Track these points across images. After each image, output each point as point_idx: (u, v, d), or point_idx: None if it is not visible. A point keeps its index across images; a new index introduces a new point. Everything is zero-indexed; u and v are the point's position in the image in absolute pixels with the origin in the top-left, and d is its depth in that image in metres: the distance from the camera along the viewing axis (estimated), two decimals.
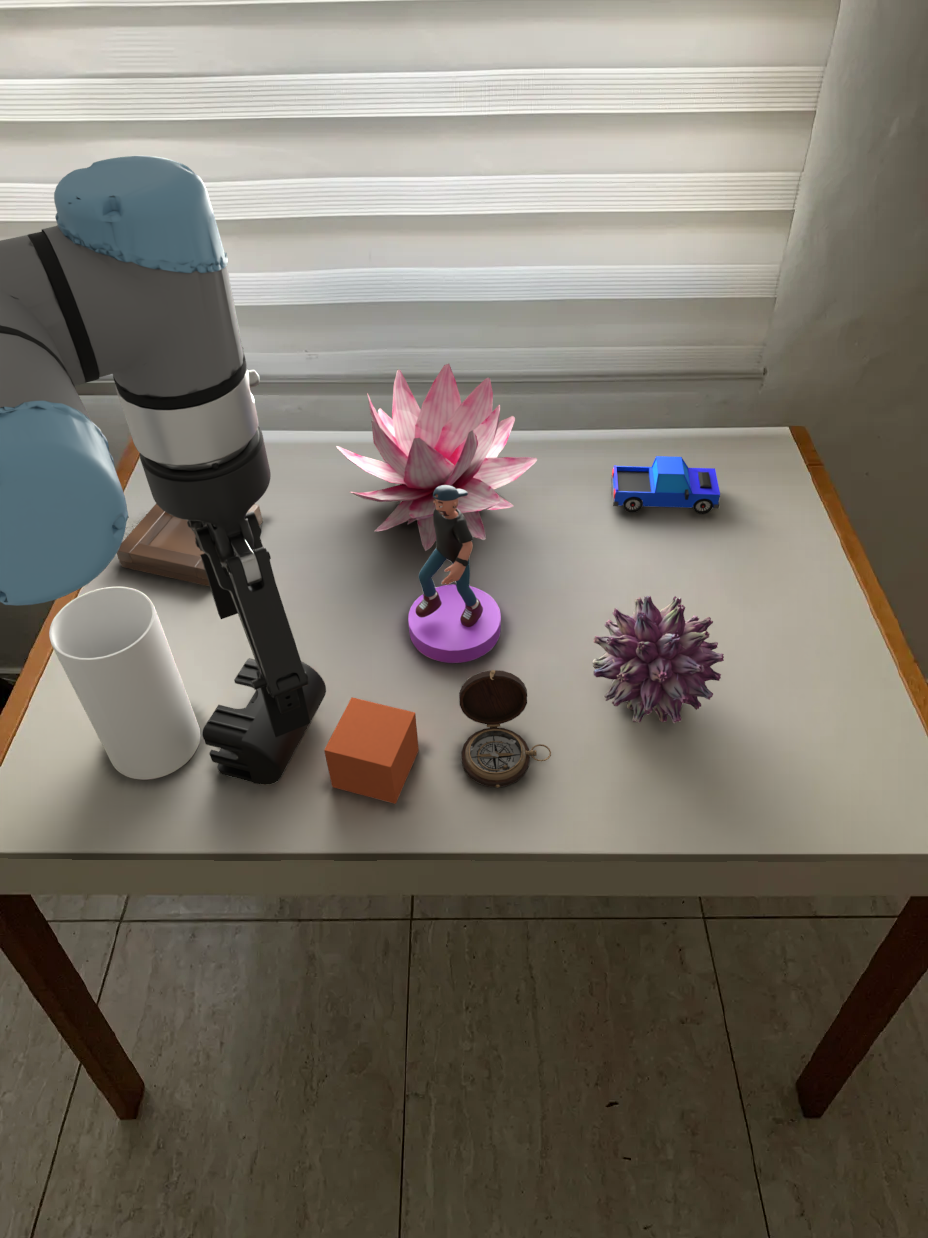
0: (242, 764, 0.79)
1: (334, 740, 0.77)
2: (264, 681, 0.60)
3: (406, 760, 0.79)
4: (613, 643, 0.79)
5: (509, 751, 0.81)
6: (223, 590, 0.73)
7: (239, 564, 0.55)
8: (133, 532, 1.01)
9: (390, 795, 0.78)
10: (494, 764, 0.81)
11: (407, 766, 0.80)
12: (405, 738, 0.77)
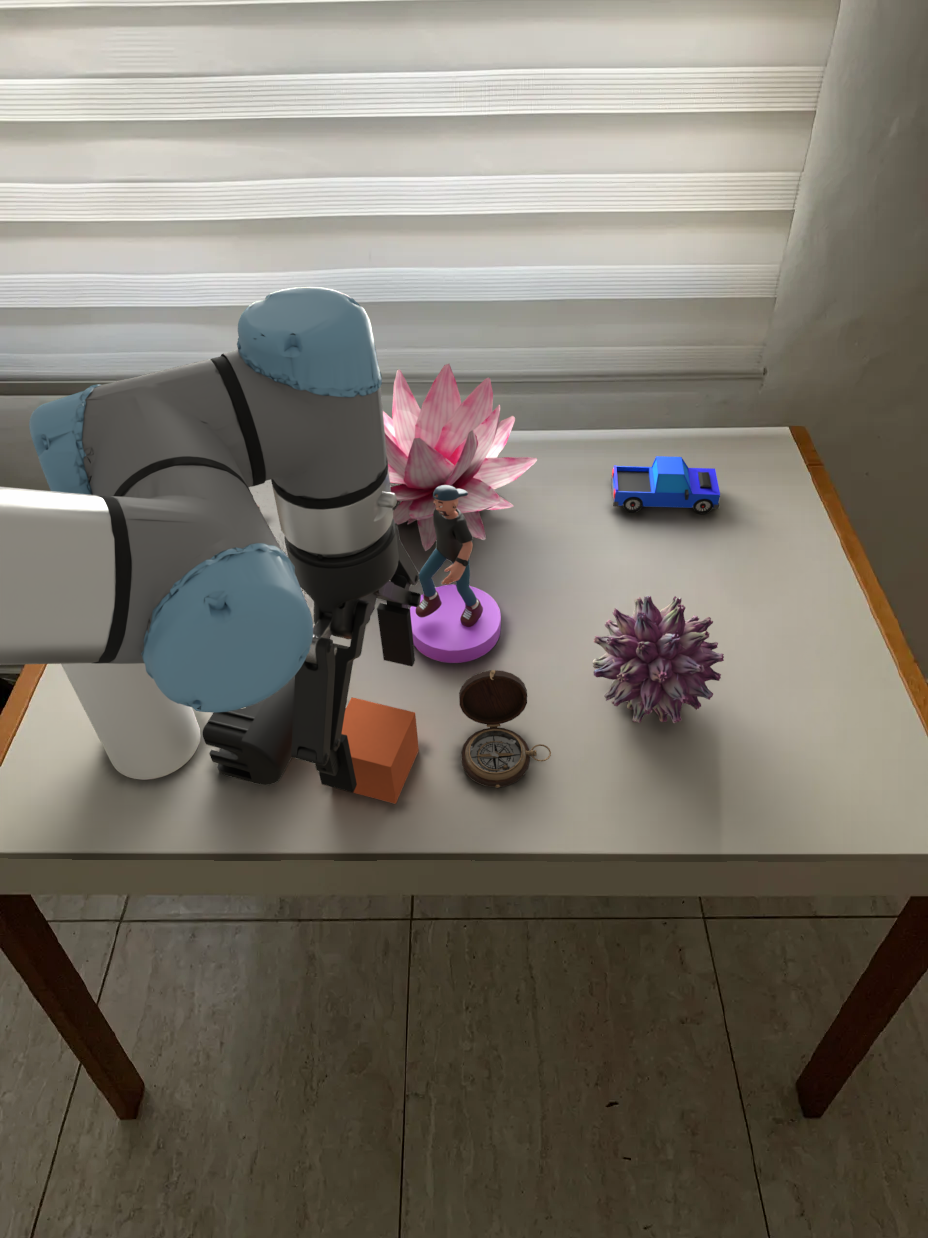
0: (242, 764, 0.79)
1: None
2: None
3: (406, 760, 0.79)
4: (613, 643, 0.79)
5: (509, 751, 0.81)
6: (389, 639, 0.79)
7: None
8: None
9: (390, 795, 0.78)
10: (494, 764, 0.81)
11: (407, 766, 0.80)
12: (405, 738, 0.77)
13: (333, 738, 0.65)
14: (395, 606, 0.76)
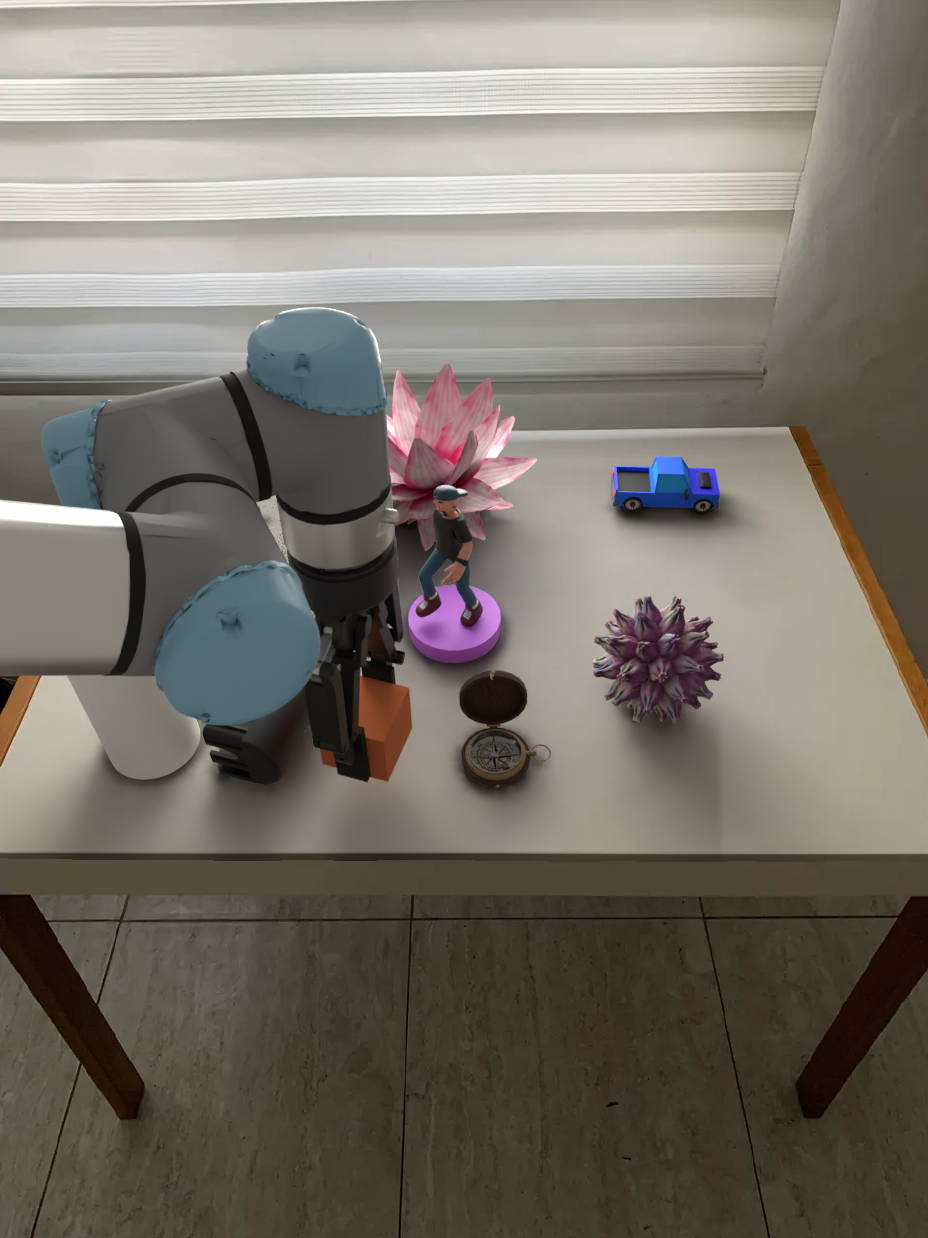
0: (242, 764, 0.79)
1: None
2: None
3: (399, 737, 0.77)
4: (613, 643, 0.79)
5: (509, 751, 0.81)
6: None
7: None
8: None
9: (382, 772, 0.75)
10: (494, 764, 0.81)
11: (400, 743, 0.77)
12: (398, 713, 0.75)
13: (351, 733, 0.70)
14: (379, 663, 0.76)
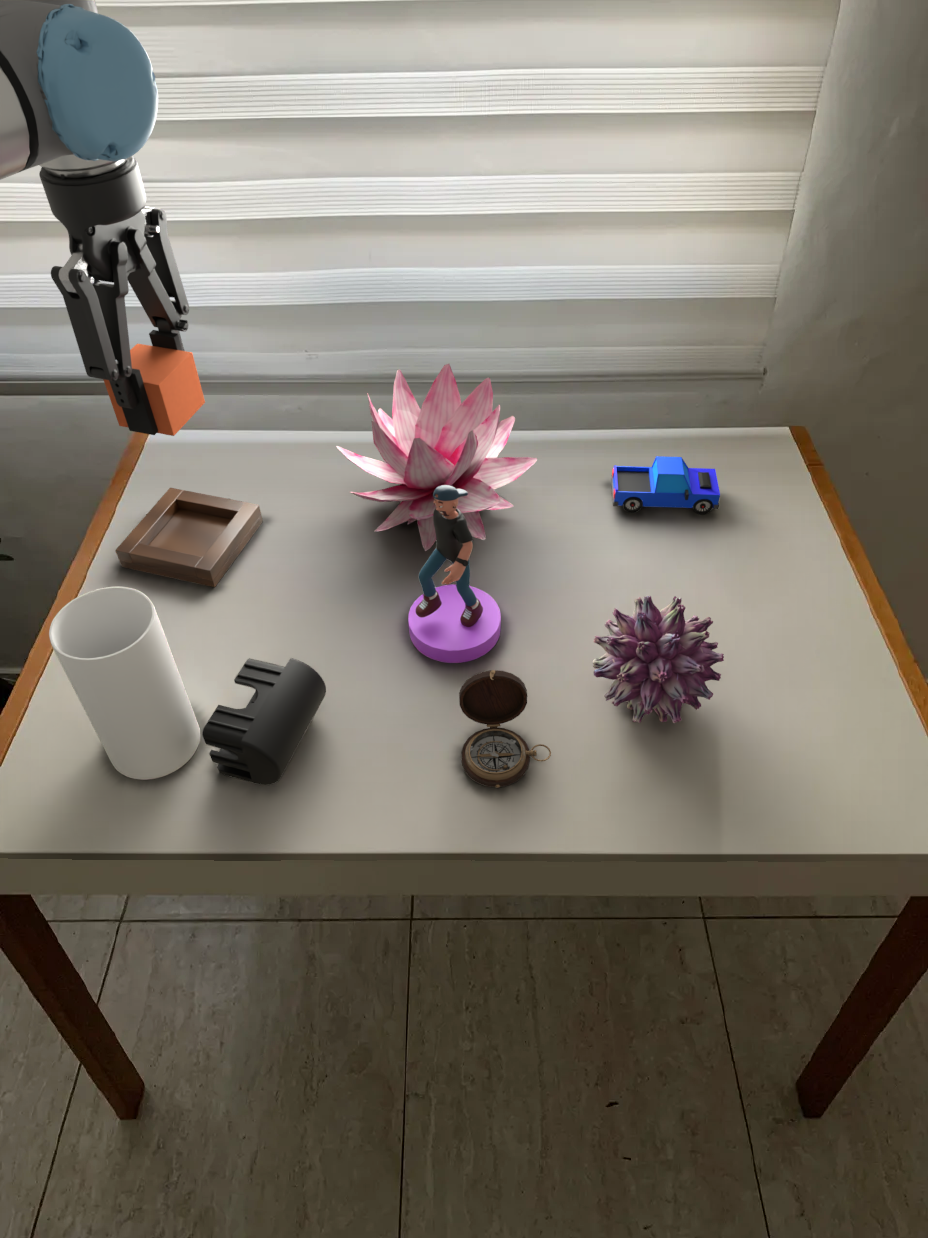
0: (242, 764, 0.79)
1: None
2: None
3: (185, 397, 0.86)
4: (613, 643, 0.79)
5: (509, 751, 0.81)
6: None
7: (57, 275, 0.72)
8: (133, 532, 1.01)
9: (166, 424, 0.85)
10: (494, 764, 0.81)
11: (187, 406, 0.87)
12: (178, 368, 0.84)
13: (122, 366, 0.79)
14: (165, 331, 0.86)
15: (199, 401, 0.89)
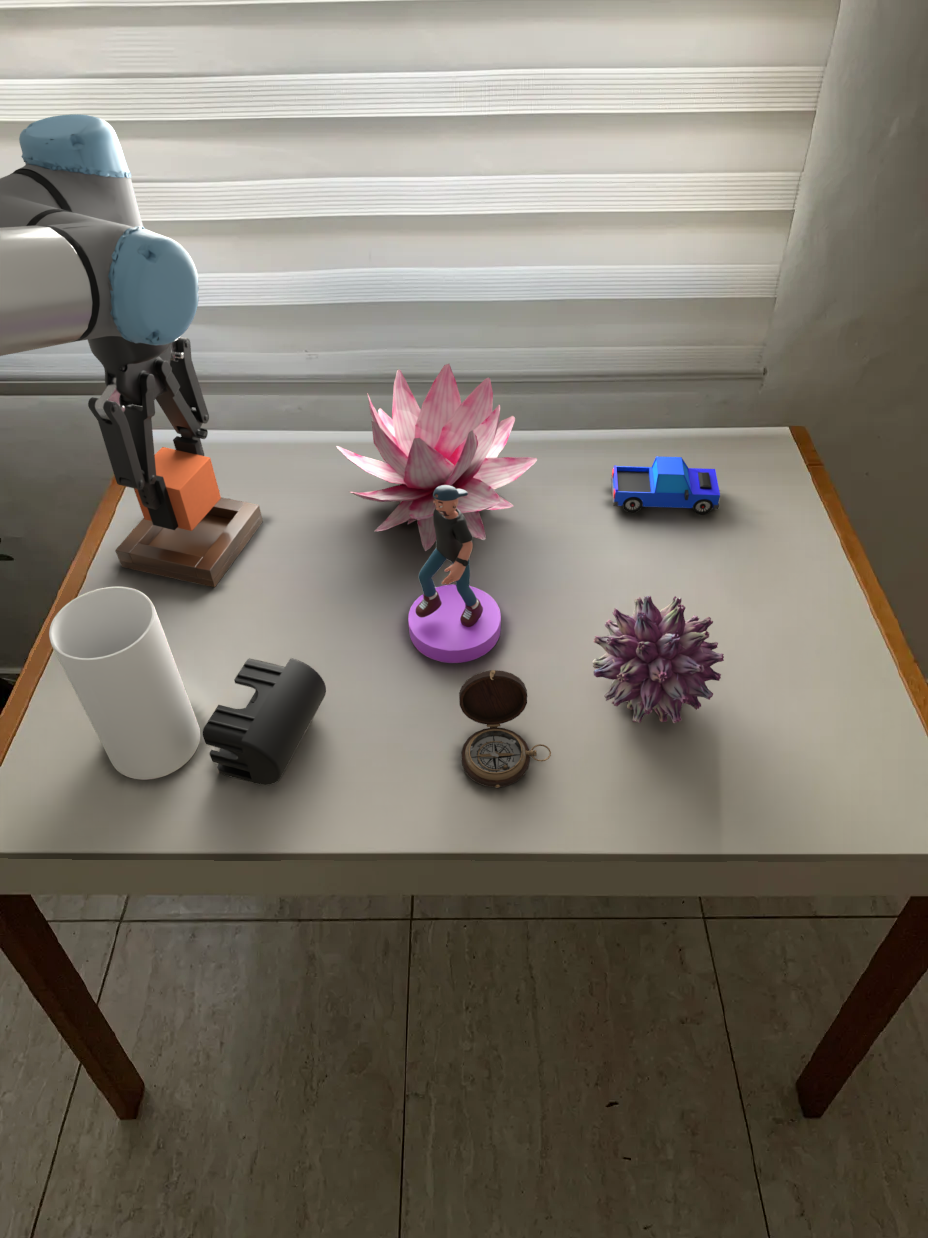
0: (242, 764, 0.79)
1: None
2: None
3: (202, 497, 0.97)
4: (613, 643, 0.79)
5: (509, 751, 0.81)
6: None
7: (93, 405, 0.83)
8: (133, 532, 1.01)
9: (185, 521, 0.96)
10: (494, 764, 0.81)
11: (205, 504, 0.98)
12: (197, 473, 0.95)
13: (147, 475, 0.91)
14: (187, 438, 0.97)
15: (215, 498, 1.00)
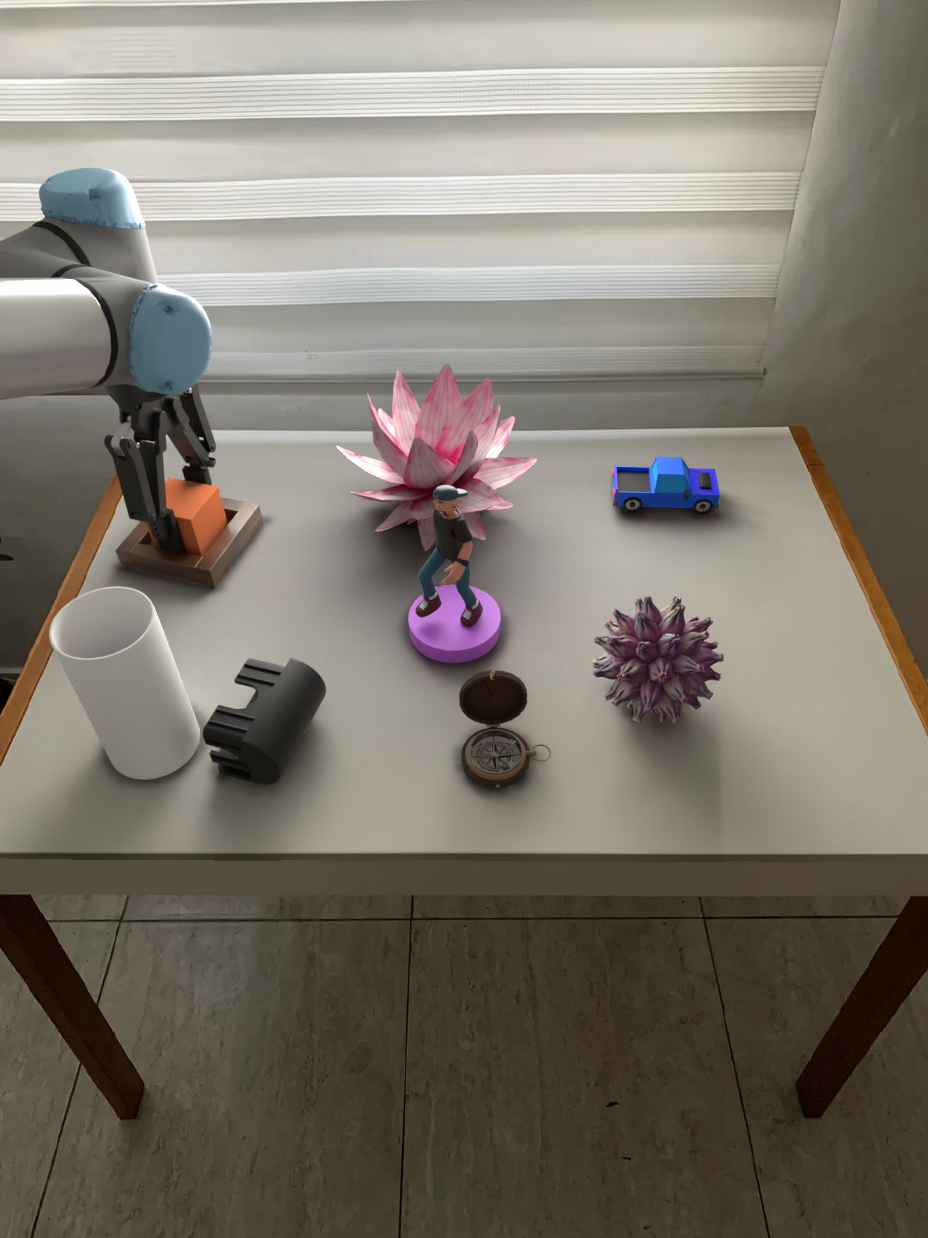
0: (242, 764, 0.79)
1: None
2: None
3: (211, 525, 1.00)
4: (613, 643, 0.79)
5: (509, 751, 0.81)
6: None
7: (109, 443, 0.86)
8: (133, 532, 1.01)
9: (196, 549, 0.99)
10: (494, 764, 0.81)
11: (213, 531, 1.01)
12: (206, 502, 0.98)
13: (158, 509, 0.93)
14: (196, 467, 1.00)
15: (223, 525, 1.03)
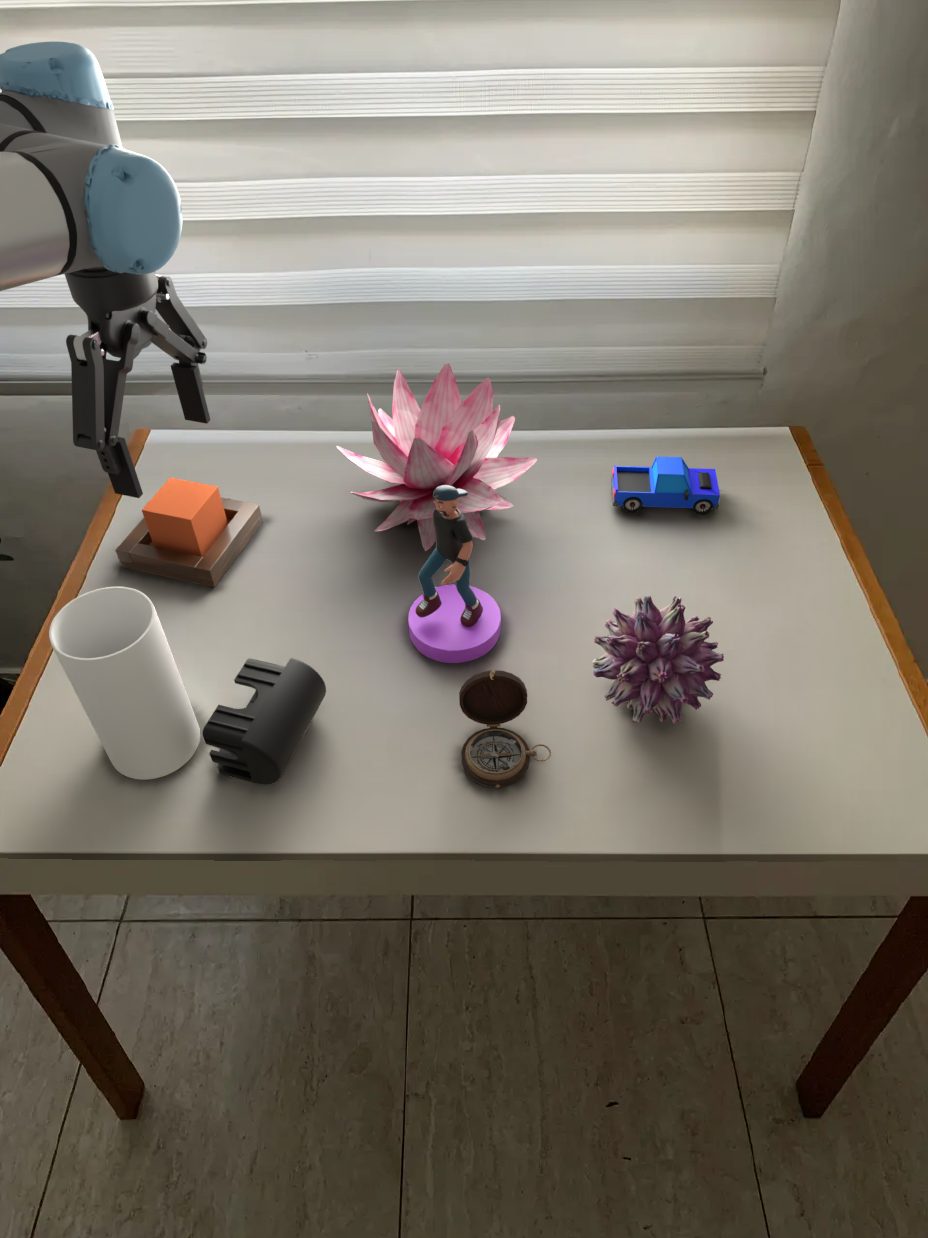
0: (242, 764, 0.79)
1: (150, 503, 0.98)
2: None
3: (211, 525, 1.00)
4: (613, 643, 0.79)
5: (509, 751, 0.81)
6: (185, 397, 0.97)
7: (72, 340, 0.78)
8: (133, 532, 1.01)
9: (196, 549, 0.99)
10: (494, 764, 0.81)
11: (213, 531, 1.01)
12: (206, 502, 0.98)
13: (109, 433, 0.83)
14: (186, 364, 0.94)
15: (223, 525, 1.03)
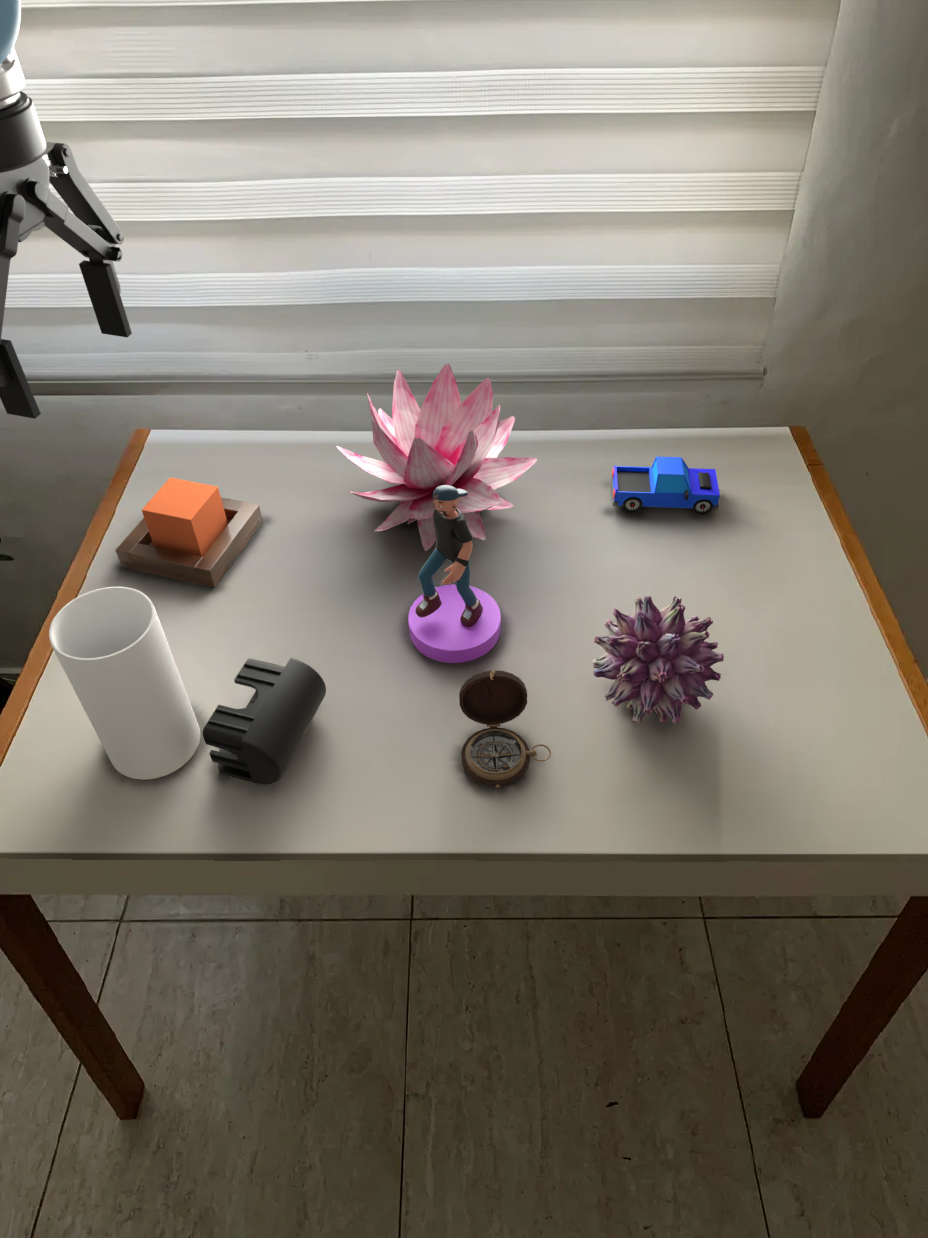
0: (242, 764, 0.79)
1: (150, 503, 0.98)
2: None
3: (211, 525, 1.00)
4: (613, 643, 0.79)
5: (509, 751, 0.81)
6: (100, 304, 0.81)
7: None
8: (133, 532, 1.01)
9: (196, 549, 0.99)
10: (494, 764, 0.81)
11: (213, 531, 1.01)
12: (206, 502, 0.98)
13: None
14: (97, 262, 0.79)
15: (223, 525, 1.03)
